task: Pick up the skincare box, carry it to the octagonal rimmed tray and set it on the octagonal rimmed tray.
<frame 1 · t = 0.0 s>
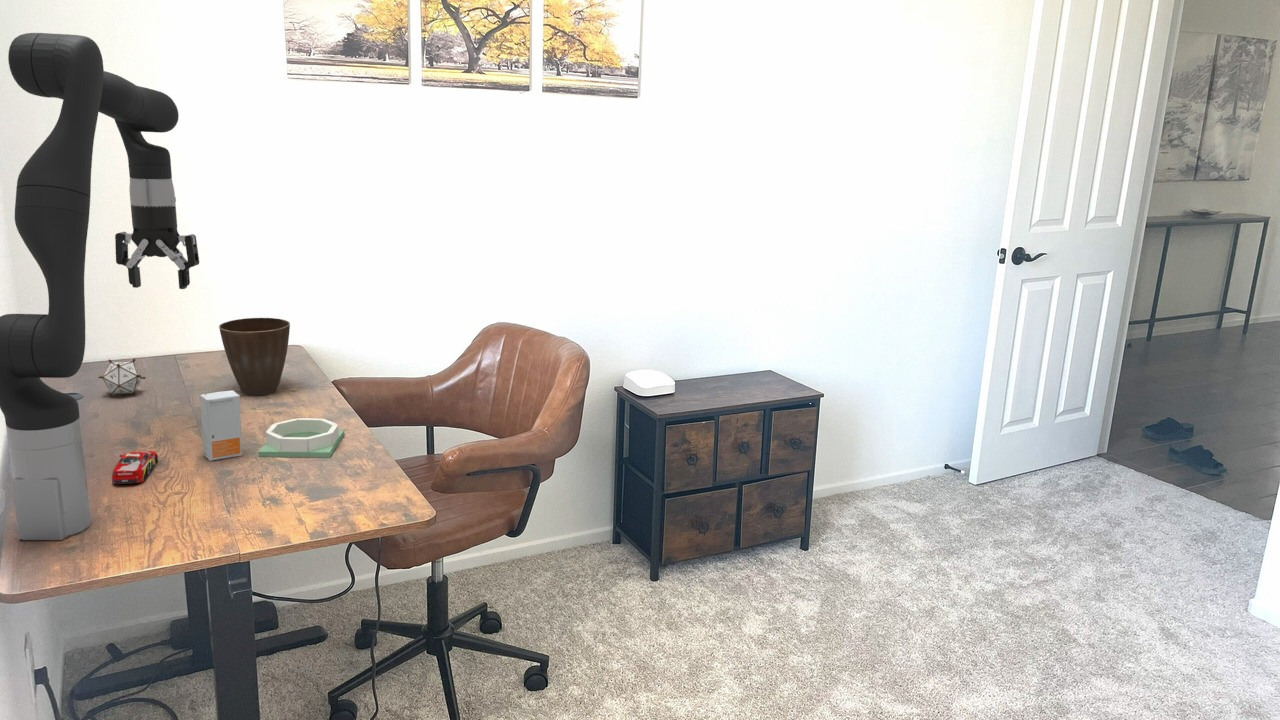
hand: (160, 287, 175), 29 cm above the table, tool pointing down, fingers open, 8 cm apart
game die: (124, 395, 205), on the table
octagonal rimmed tray: (303, 445, 179), on the table
race car: (136, 475, 162), on the table
skincare box: (223, 456, 172), on the table
plant pot: (258, 392, 211), on the table
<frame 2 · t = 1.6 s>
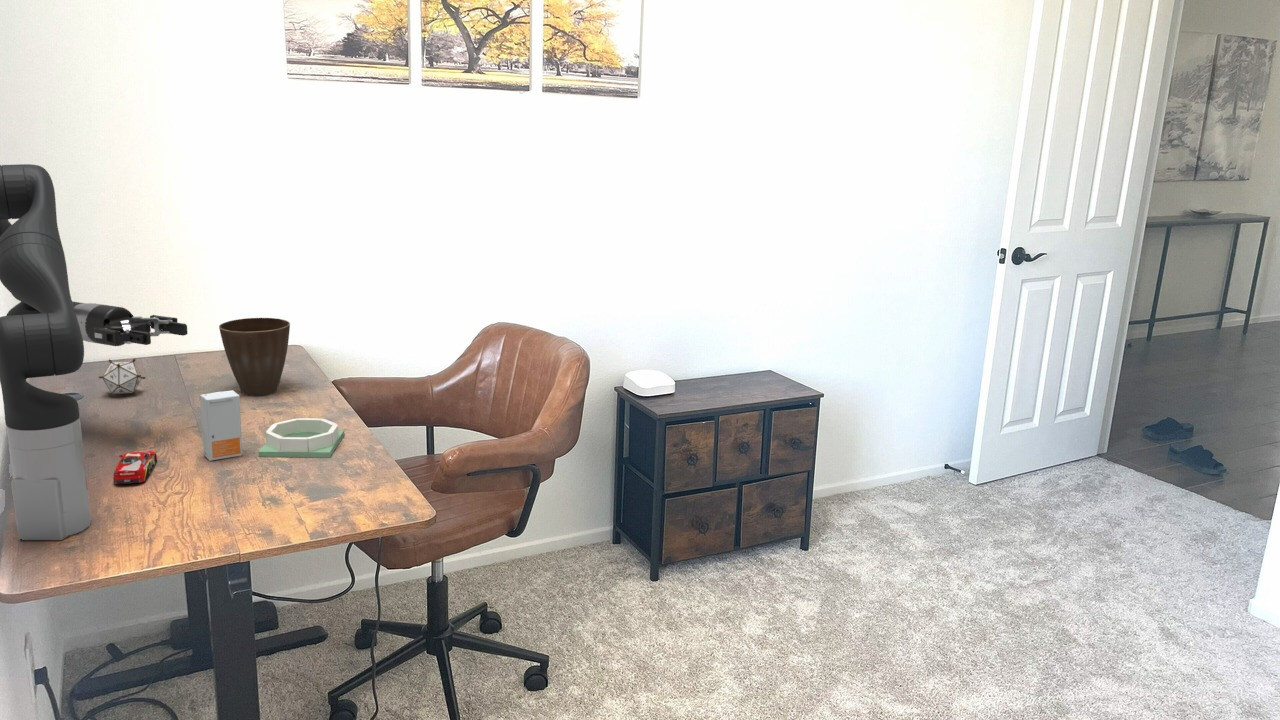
hand: (168, 334, 169), 22 cm above the table, tool horizontal, fingers open, 8 cm apart
nothing on the table moved.
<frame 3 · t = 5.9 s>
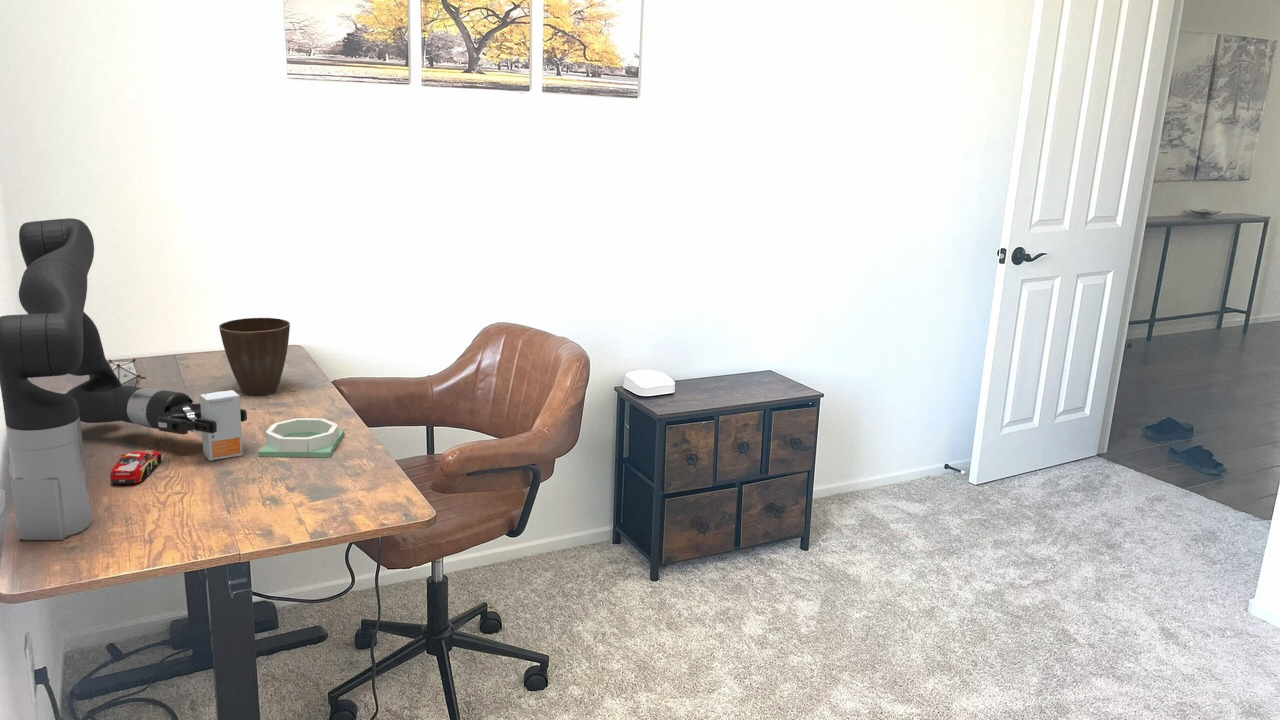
hand: (230, 421, 169), 7 cm above the table, tool horizontal, fingers closed on skincare box, 7 cm apart
skincare box: (223, 456, 172), on the table, touching gripper
everything else where it was.
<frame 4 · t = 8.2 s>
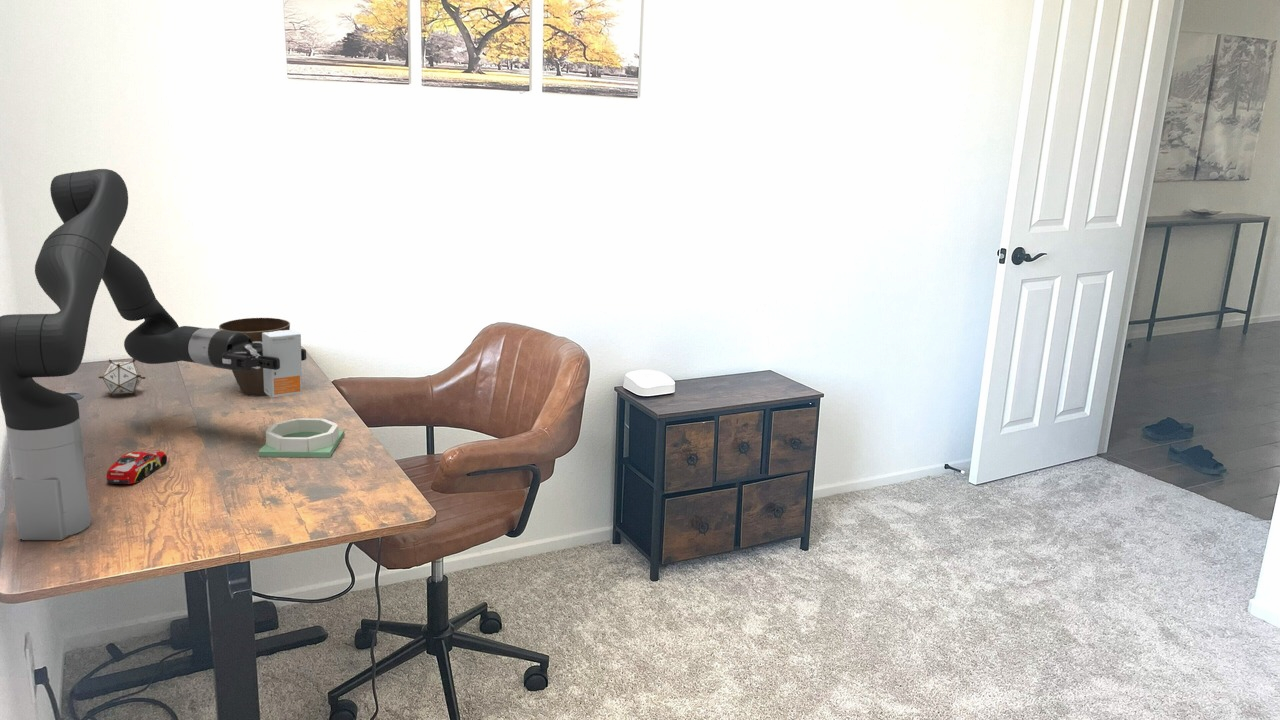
hand: (292, 359, 173), 18 cm above the table, tool horizontal, fingers closed on skincare box, 7 cm apart
skincare box: (283, 394, 175), point 11 cm above the table, touching gripper
when the fingers open (9 cm above the table, at t = 10.7 s): skincare box stays where it is, resting on octagonal rimmed tray.
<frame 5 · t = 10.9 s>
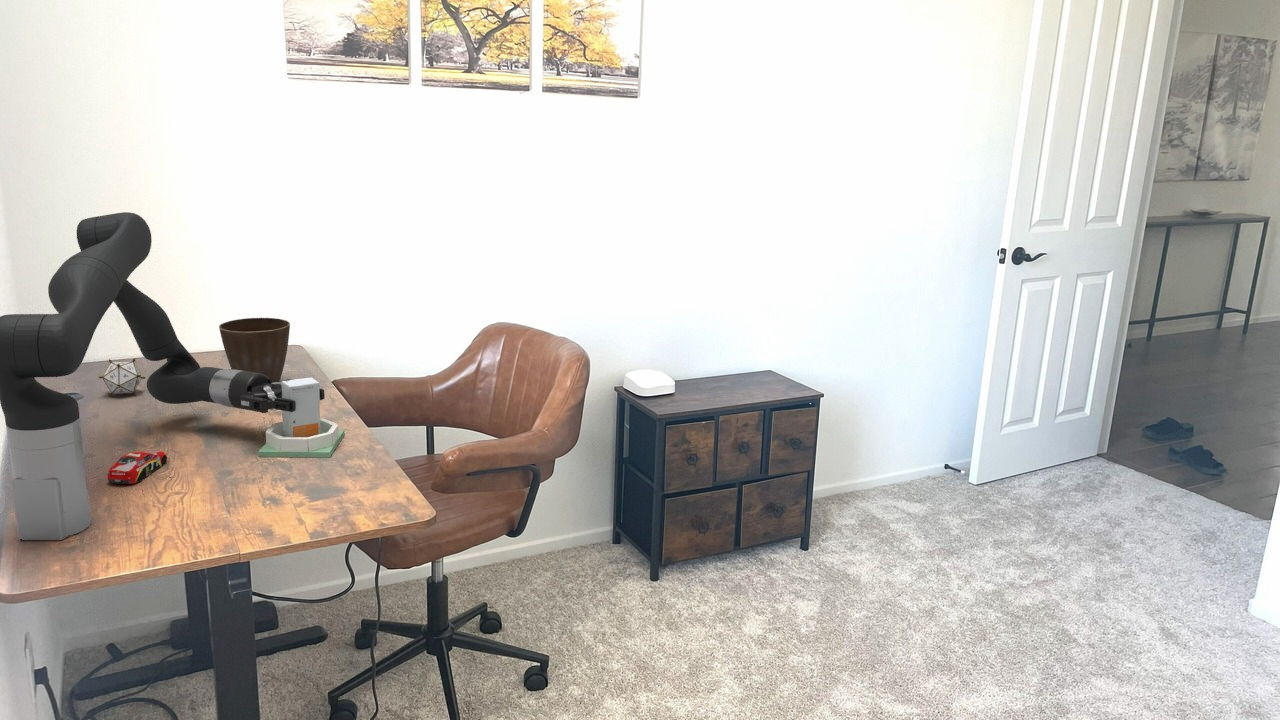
hand: (309, 400, 176), 9 cm above the table, tool horizontal, fingers open, 8 cm apart
skincare box: (302, 440, 179), point 1 cm above the table, touching octagonal rimmed tray
everything else where it was.
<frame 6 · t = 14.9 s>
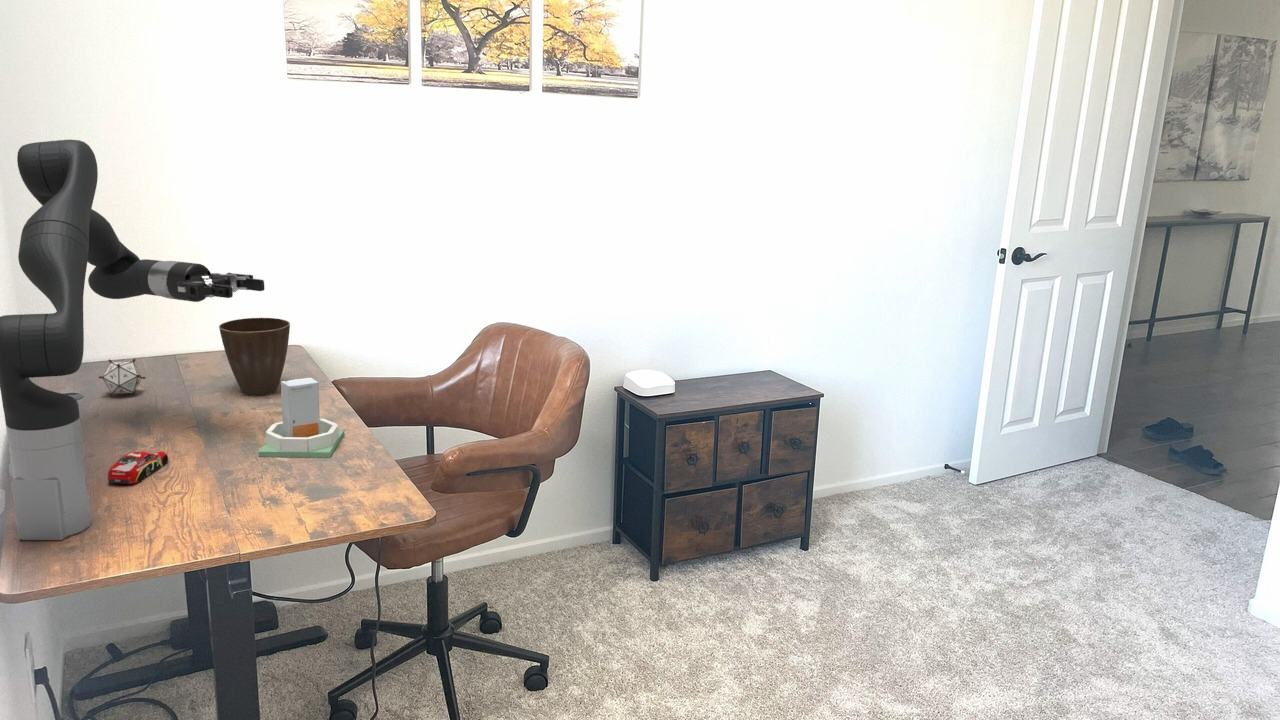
hand: (247, 288, 175), 30 cm above the table, tool horizontal, fingers open, 8 cm apart
nothing on the table moved.
at the end: skincare box 0.1 cm from the octagonal rimmed tray (horizontally); skincare box tilted 0°; skincare box point 0.8 cm above the table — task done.
